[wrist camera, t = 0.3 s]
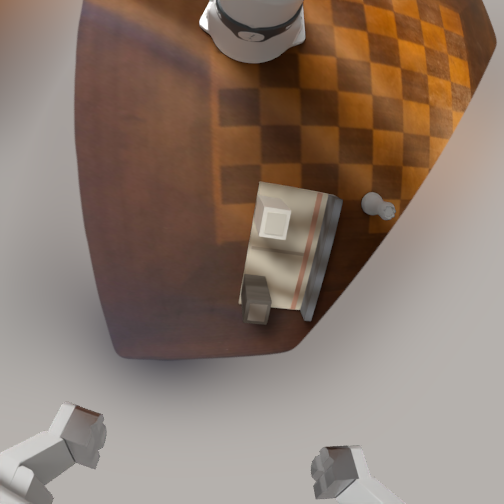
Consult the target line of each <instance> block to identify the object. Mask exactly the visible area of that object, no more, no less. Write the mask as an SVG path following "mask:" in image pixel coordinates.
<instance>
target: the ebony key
mask: <svg viewBox="0 0 504 504" xmlns="http://www.w3.org/2000/svg"><path fill="white" fill-rule="evenodd" d="M241 304H242V316H243V322H244V323H254V324H264V325H267V321H268V317H269V312H270V308H271V304H272V300H271V296H270V292H269V289H268V285H267V281H266V277H265V276H258V275H250V274H244V279H243V284H242V290H241Z"/></svg>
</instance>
